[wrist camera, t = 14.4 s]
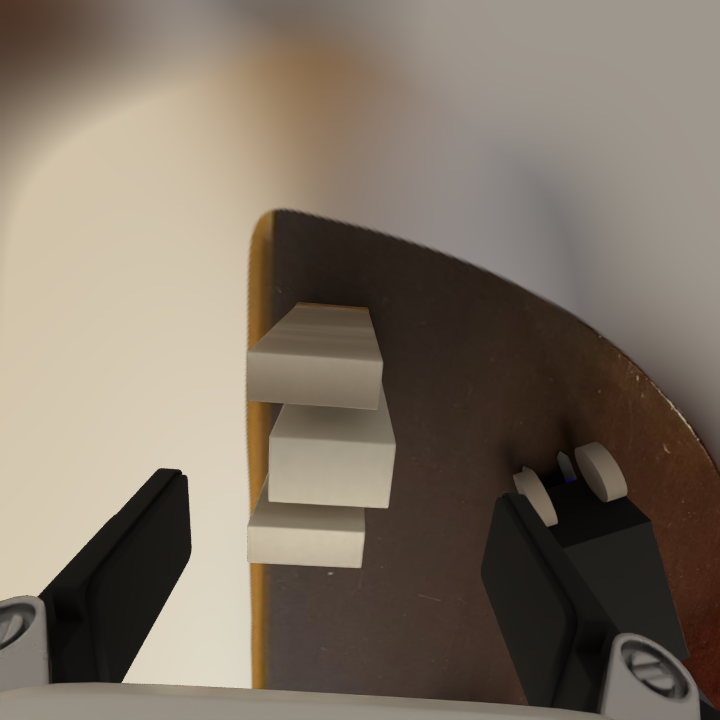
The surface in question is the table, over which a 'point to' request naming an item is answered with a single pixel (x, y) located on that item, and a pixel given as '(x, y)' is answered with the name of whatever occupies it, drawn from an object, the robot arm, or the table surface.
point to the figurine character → (609, 544)
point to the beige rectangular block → (332, 455)
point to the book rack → (321, 388)
